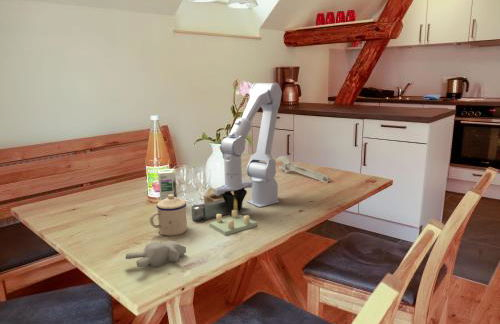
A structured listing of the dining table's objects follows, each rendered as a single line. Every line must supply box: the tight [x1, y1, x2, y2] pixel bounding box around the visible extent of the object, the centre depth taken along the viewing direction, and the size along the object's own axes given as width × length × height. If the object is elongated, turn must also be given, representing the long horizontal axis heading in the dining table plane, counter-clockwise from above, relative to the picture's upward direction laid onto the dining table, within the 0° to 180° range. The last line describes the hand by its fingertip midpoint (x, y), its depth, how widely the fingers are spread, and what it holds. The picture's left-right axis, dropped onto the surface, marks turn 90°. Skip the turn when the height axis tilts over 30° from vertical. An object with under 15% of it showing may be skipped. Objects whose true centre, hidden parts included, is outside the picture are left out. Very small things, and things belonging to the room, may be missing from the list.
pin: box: [230, 197, 239, 217], centre depth 137 cm, size 3×3×6 cm
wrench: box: [276, 155, 331, 184], centre depth 184 cm, size 8×2×30 cm
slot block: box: [203, 193, 223, 204], centre depth 149 cm, size 8×8×3 cm
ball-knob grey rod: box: [191, 199, 244, 223], centre depth 138 cm, size 20×4×5 cm, turn 127°
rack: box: [209, 210, 258, 236], centre depth 128 cm, size 12×9×4 cm
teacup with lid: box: [149, 194, 188, 236], centre depth 123 cm, size 12×9×12 cm
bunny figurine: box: [125, 240, 187, 268], centre depth 105 cm, size 10×5×15 cm
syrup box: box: [157, 168, 178, 201], centre depth 143 cm, size 6×6×14 cm
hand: (234, 211), depth 137 cm, fingers closed on pin, 3 cm apart
